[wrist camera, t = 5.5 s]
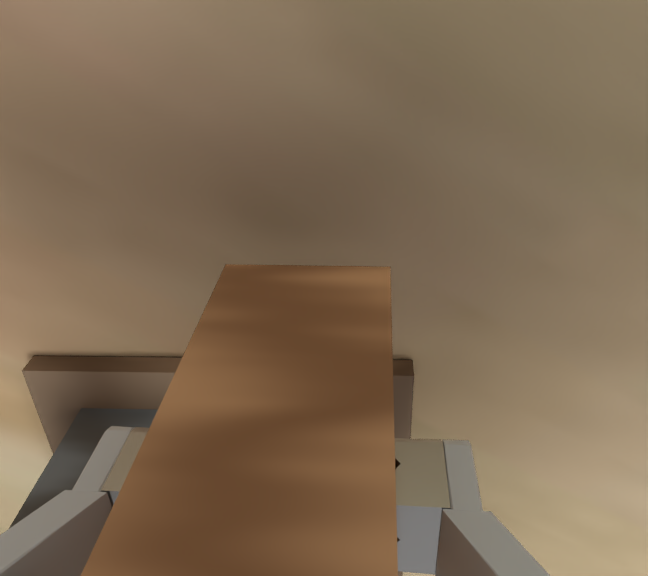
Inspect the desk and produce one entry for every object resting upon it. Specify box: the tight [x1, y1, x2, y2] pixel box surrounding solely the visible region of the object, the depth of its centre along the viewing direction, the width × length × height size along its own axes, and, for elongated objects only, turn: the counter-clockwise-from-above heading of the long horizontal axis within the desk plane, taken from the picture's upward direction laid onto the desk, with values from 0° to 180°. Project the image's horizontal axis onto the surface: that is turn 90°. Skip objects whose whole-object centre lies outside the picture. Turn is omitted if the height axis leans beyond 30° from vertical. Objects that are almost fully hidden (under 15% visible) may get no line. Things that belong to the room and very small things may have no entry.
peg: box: [81, 264, 398, 576], centre depth 11 cm, size 4×4×10 cm
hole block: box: [10, 356, 414, 576], centre depth 26 cm, size 16×16×7 cm
